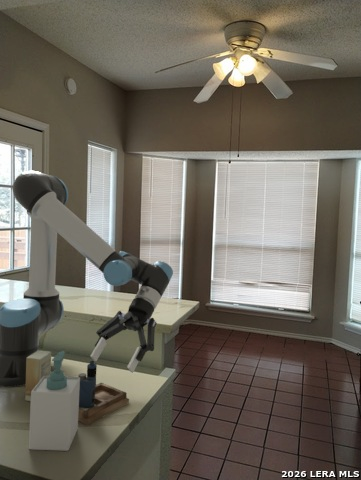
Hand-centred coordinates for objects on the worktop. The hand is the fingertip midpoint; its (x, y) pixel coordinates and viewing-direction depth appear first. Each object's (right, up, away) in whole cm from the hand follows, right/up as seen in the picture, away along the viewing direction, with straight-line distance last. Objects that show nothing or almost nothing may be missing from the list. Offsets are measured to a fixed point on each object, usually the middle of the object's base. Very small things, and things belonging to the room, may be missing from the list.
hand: (110, 364), depth 107 cm
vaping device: (-5, -9, -8) cm, 13 cm away
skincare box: (-20, -9, -2) cm, 22 cm away
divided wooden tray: (-4, -10, -5) cm, 11 cm away
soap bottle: (-9, -10, -21) cm, 25 cm away
